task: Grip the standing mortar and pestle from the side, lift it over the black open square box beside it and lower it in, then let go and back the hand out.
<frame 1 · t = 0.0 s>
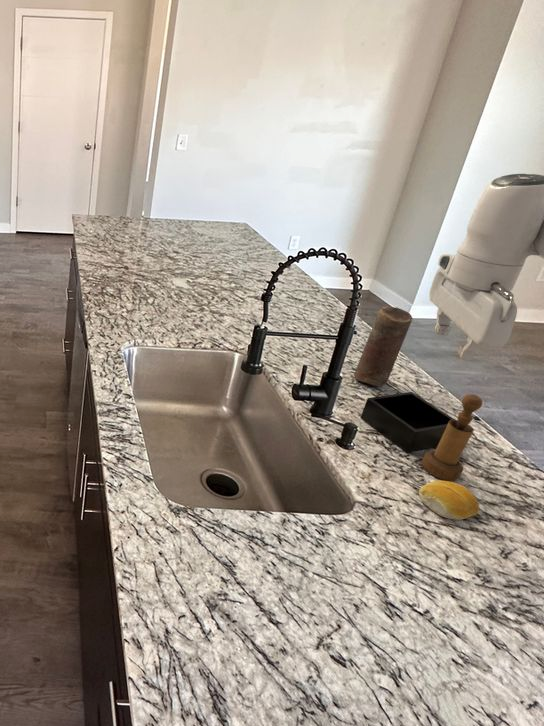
hand: (451, 345, 96), 29 cm above the countertop, tool pointing down, fingers open, 8 cm apart
candle: (369, 382, 139), on the countertop
bread roll: (445, 506, 100), on the countertop
mortar and pestle: (439, 470, 109), on the countertop
black open square box: (405, 431, 121), on the countertop
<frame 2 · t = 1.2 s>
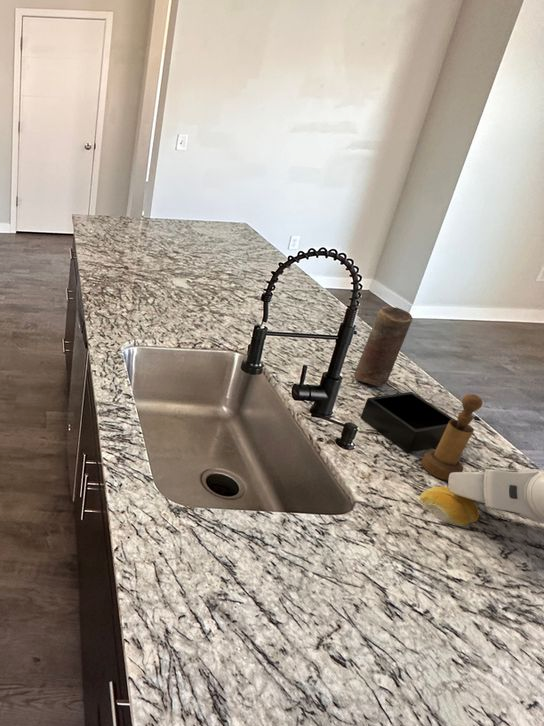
hand: (486, 488, 103), 1 cm above the countertop, tool tilted 55°, fingers open, 8 cm apart
bread roll: (445, 512, 100), on the countertop, touching gripper
everything else where it was.
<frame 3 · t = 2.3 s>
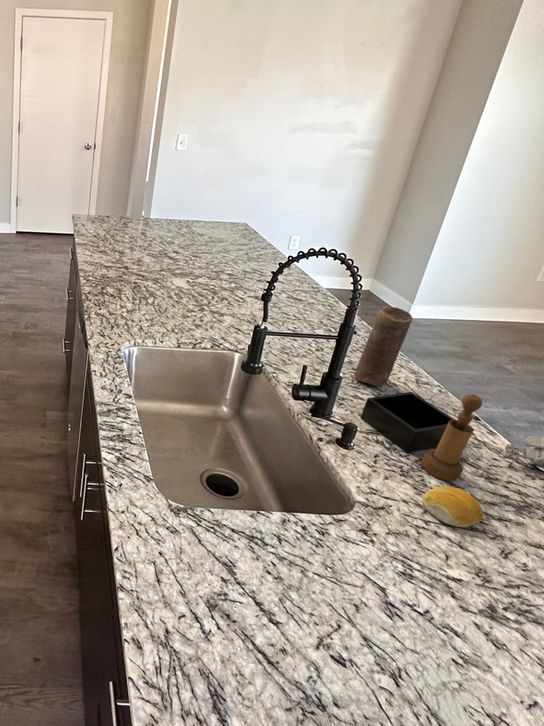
hand: (515, 444, 107), 6 cm above the countertop, tool horizontal, fingers open, 8 cm apart
bread roll: (449, 512, 99), on the countertop
everything else where it was.
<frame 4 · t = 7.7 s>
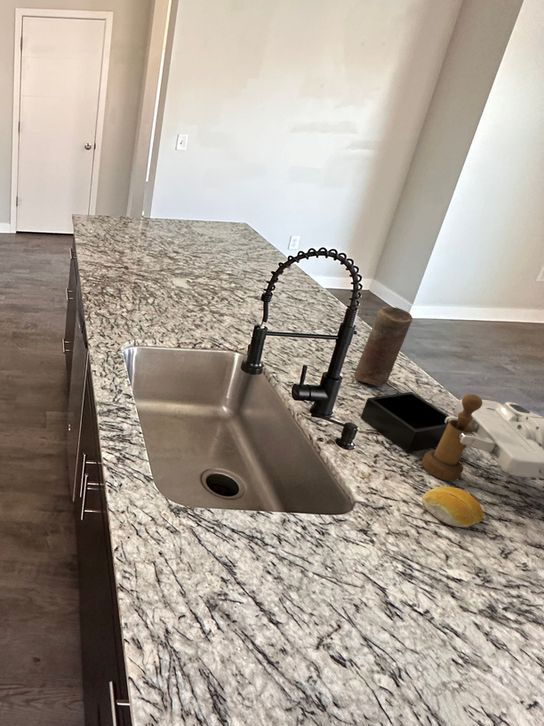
hand: (453, 429, 105), 10 cm above the countertop, tool horizontal, fingers closed on mortar and pestle, 4 cm apart
mortar and pestle: (439, 470, 109), on the countertop, touching gripper
everything else where it was.
when the fingers open (11 cm above the countertop, at t = 15.5 s): mortar and pestle stays where it is, resting on black open square box.
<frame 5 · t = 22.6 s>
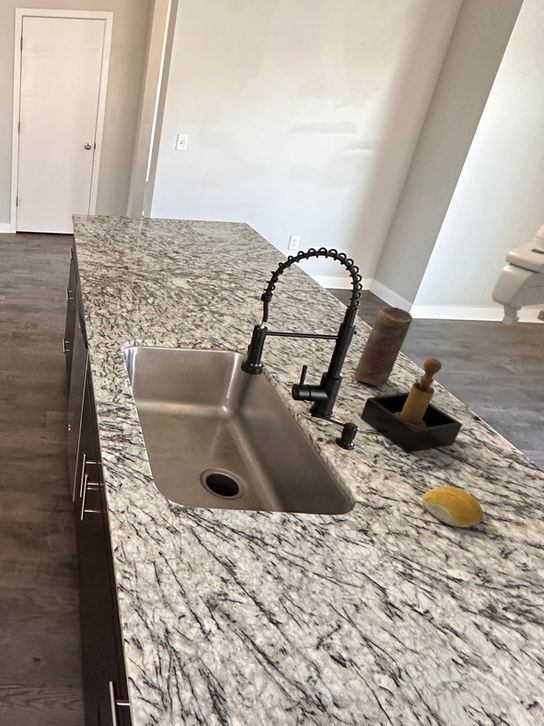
hand: (526, 322, 106), 29 cm above the countertop, tool pointing down, fingers open, 8 cm apart
mortar and pestle: (405, 429, 120), resting on black open square box
everything else where it was.
at the end: mortar and pestle inside the target area in the black open square box (0.1 cm from its centre), point 0.4 cm above the black open square box's base; the gripper is holding nothing; mortar and pestle tilted 0° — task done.
